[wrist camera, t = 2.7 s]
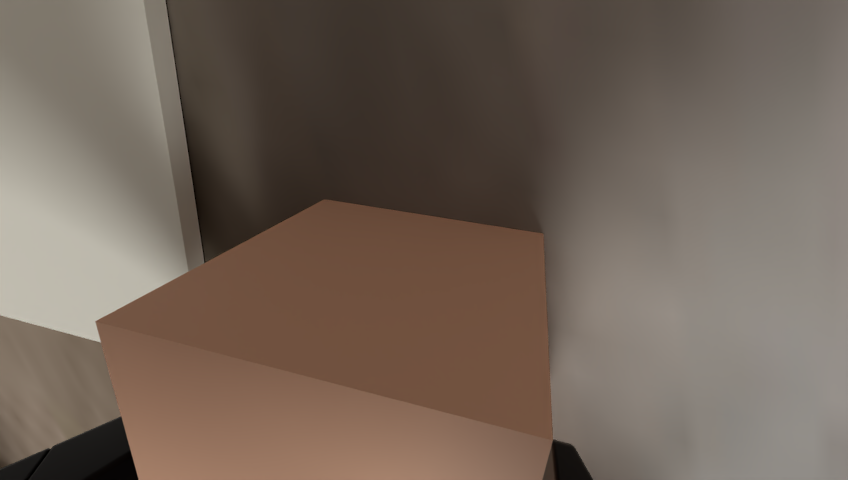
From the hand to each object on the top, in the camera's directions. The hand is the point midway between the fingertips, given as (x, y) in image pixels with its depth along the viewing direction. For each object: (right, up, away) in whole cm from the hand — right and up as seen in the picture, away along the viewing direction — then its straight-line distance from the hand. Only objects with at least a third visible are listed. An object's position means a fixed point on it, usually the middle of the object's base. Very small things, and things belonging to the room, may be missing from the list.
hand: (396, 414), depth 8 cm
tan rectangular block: (0, +1, +1) cm, 1 cm away
